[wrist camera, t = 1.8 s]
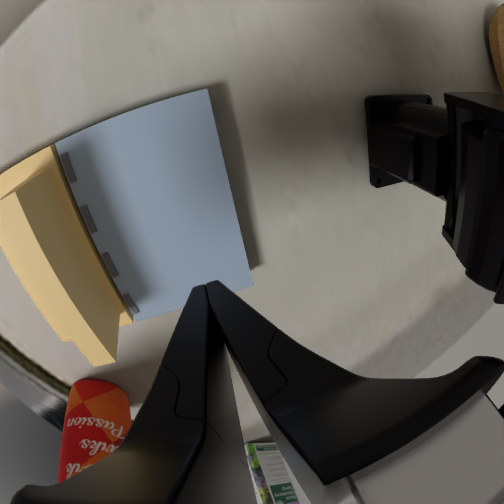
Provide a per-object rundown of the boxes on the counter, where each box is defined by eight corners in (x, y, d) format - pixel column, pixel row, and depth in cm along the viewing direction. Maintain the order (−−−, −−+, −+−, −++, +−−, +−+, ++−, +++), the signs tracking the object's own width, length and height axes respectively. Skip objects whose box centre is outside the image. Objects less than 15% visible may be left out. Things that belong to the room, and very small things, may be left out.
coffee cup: (154, 391, 24) (179, 543, 11) (120, 422, 25) (134, 545, 13) (72, 357, 19) (63, 531, 7) (51, 396, 21) (45, 530, 9)
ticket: (203, 89, 13) (207, 88, 12) (247, 272, 20) (253, 286, 18) (64, 139, 12) (54, 143, 11) (137, 306, 19) (136, 322, 17)
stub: (59, 141, 12) (14, 164, 8) (133, 308, 19) (131, 370, 14) (-13, 183, 11) (-62, 219, 7) (66, 327, 18) (53, 386, 13)
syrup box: (277, 440, 37) (310, 518, 25) (257, 455, 39) (284, 527, 27) (246, 441, 35) (277, 528, 23) (227, 456, 37) (253, 534, 24)
